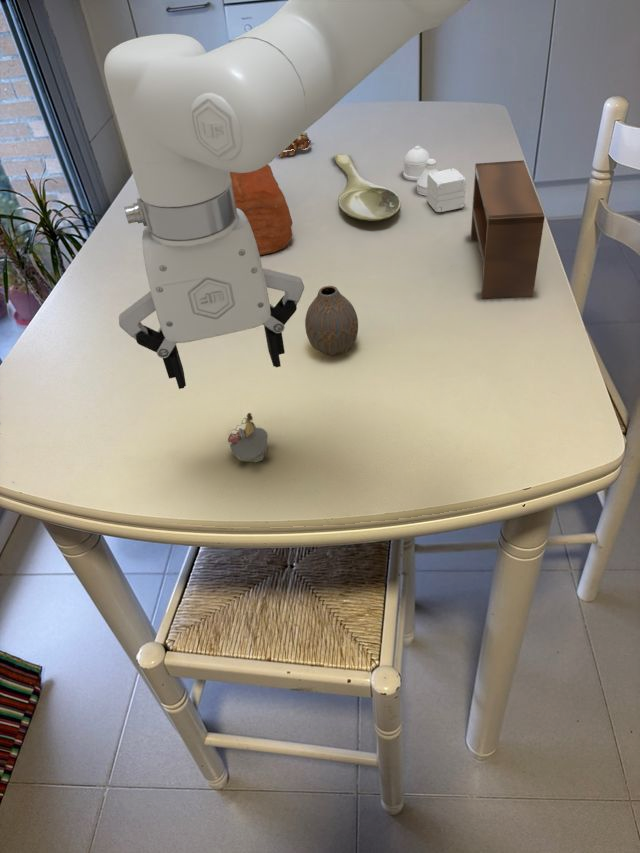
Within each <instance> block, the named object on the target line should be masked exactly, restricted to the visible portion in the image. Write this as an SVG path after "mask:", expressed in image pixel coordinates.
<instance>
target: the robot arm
mask: <svg viewBox="0 0 640 853" xmlns="http://www.w3.org/2000/svg"><path fill="white" fill-rule="evenodd" d="M470 1H471V0H287V1H286V2H285V3H284V4H283V5H282V7H280V9H278V11H277V12H275V14H273V15H272V16H271V17H270V18H269V19H267V21H264V22H263V23H261V24H259V25H257V26H255V27H253V28H251V29H249V30H247V31H246V32H245V33H243V34H241V35H239V36H237V37H236V38H234V39H232V40H230V41H228V43H225V44H224V45H222V46H220V47H217V48H214V49H212V50H210V51H206V49H205V48H204V46H203V45H202V44H201V43H200V41H198V40H197V39H195V38H194V37H193V36H190V35H185V34H181V33H159V34H151V35H144V36H140V37H136V38H131V39H129V40H126V41H124V42H121V43H119V44H118V45H116V46H114V47H113V48H112V49H111V50H109V52H108V53H107V54H106V57H105V60H104V62H103V63H104V64H103V72H104V77H105V78H104V79H105V82H106V86H107V89H108V92H109V96H110V100H111V103H112V106H113V110H114V113H115V117H116V120H117V124H118V127H119V130H120V133H121V134H120V135H121V137H122V140H123V145H124V147H125V151H126V155H127V158H128V161H129V166H130V169H131V172H132V176H133V180H134V183H135V186H136V188H137V193H138V195H139V198H136V202H134V203H132V205H127V206H124V207H123V208H124V213H125V218H126V220H127V223H128V224H134V223H135V224H136V223H137V224H142V225H143V227H144V229H143V231H142V237H141V239H142V240H141V243H142V255H143V261H144V267H145V272H146V277H147V282H148V286H149V289H150V291H148V293H146V294H145V295H143V296H142V297H140V298H139V299H138V300H137V301H135V302H134V303H133V304H131V305H130V306H128V307H127V308H126V309H125V310H124V311H122V312H121V313H120V314H119V315H118V325H119V327H120V328H121V329H122V330H123V331H124V332H125V333H127V334H128V335H129V336H130V337H131V338H132V339H134V340H135V341H136V343H137V344H138V345H140V346H141V347H143V348H146V349H148V350H150V351H152V352H154V353H155V354H157V357H158V358H161V359H162V361H163V363H164V367H165V371H166V373H167V376H168V379H174V378H175V380H176V384H177V387H178V390H181V389H185V387H186V386H187V383H186V378H185V371H184V367H183V363H182V360H181V357H180V353H179V350H178V347H177V344H185V343H192V342H196V341H201V340H205V339H211V338H214V337H219V336H224V335H228V334H229V335H230V334H234V333H238V332H243V331H246V330H247V331H248V330H251V329H254V328H258V327H260V326H263V327H264V333H265V334H264V335H265V339H266V344H267V350H268V353H269V358H270V360H271V364H272V366H273V367H275V368H280V367H281V359H280V355H283V354H285V353H286V352H285V344H284V339H283V332H284V330H285V328H286V327H285V326H286V324H287V322H288V321H289V320H290V319H291V318H292V316H293V315H294V314H295V313H296V312H297V308H298V307H297V306H298V304H299V302H300V300H301V298H302V295H303V292H304V290H305V284H304V283H303V279H302V278H301V277H300V276H296V275H293V274H287V273H284V272H281V271H277V270H272V269H267V268H264V267H263V264H262V260H261V255H259V251H258V248H257V244H256V241H255V238H254V235H253V232H252V229H251V226H250V224H249V222H248V219H247V217H246V216H245V214H244V213H243V212H242V211H241V210H240V209H238V208H236V203H235V198H234V193H233V187H232V182H231V177H230V172H234V173H248V172H252V171H256V170H258V169H260V168H262V167H264V166H266V165H267V164H268V165H269V164H270V163H271V162H272V161H274V160H275V159H276V158H277V157H278V156H279V155H280V153H282V152H283V151H284V150H285V149H286V148H287V147H288V146H289V145H291V144H292V143H293V142H294V140H296V139H297V138H298V137H299V136H300V135H301V134H302V133H305V132H306V131H307V130H308V129H309V128H311V127H312V126H313V125H314V124H315V123H316V122H318V121H319V120H320V119H321V118H323V117H324V116H325V115H326V114H327V113H328V112H329V111H330V110H331V109H332V108H334V107H335V105H337V104H338V103H339V102H340V101H341V100H342V99H344V97H345V96H347V95H348V94H349V93H350V92H351V91H353V89H354V88H357V86H358V85H359V84H360V83H361V82H363V81H364V80H365V79H366V78H367V77H368V76H370V74H372V73H373V72H374V71H375V70H376V69H378V67H380V66H381V65H382V64H384V62H386V61H387V60H389V58H390V57H391V56H393V55H394V54H395V53H396V52H397V51H399V50H400V49H401V48H402V47H404V46H405V45H406V44H407V43H408V42H409V41H411V40H412V39H413V38H415V37H416V36H417V35H419V34H421V33H423V32H425V31H428V30H431V29H435V28H438V27H439V26H440V25H442V24H444V23H445V22H447V21H448V19H449V18H451V17H452V16H453V15H455V14H456V13H457V12H459V11H460V10H461V9H462V8H463V7H464V6H466V5H467V4H468V3H469V2H470ZM268 288H269V289H273V290H277V291H280V292H284V295H283V296H282V297H281V298H280V299H279V301H278V302H277V303H276V304H275V305H273V304H271V303H270V297H269V292H268ZM154 312H155V313H156V317H157V320H158V323H159V326H160V327H159V328H158V330H155V329H153V328H151V327H150V326H147V325H144V324H142V321H143V320H145V319H146V318H148V317H149V316H150V315H152V314H153V313H154Z"/></svg>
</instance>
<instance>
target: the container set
mask: <svg viewBox="0 0 640 853" xmlns="http://www.w3.org/2000/svg"><path fill="white" fill-rule="evenodd" d="M403 168H404V170H403V171H402V172H403V174H402V175H403V178H404V179H406V180H407V181H408V180H409V181H416V192H417V193H418V194H419V195H421V196H426V200H427V203H428V204H429V206H430V207H431V208H432V209H433V210H434V211H435V212H436V213H443V212H448V211H452V210H457V209H462V208H463V207H464V206H465V203H466V186H467V184H466V183H467V181H466V177H465V176H464V175H463V174H462V173H461V172H459V170H458V169H457V168H448V169H443V170H438V168H437V160H436V159H435V158H431V156H430V154H429V152H428V150H426V149H425V148H423V147H421V145H414V147H413V148H411V149H410V150H409V151H407V152H406V154H405V157H404V160H403Z"/></svg>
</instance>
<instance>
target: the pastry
mask: <svg viewBox="0 0 640 853" xmlns="http://www.w3.org/2000/svg"><path fill="white" fill-rule="evenodd" d="M308 141H309V142H308ZM310 143H311V144H310ZM310 146H311V147H312V146H313V144H312V140H311V139H310V138H309V135H308V133H307V132H306V131H305V132H303V133H302V134H301V135H300V136H299V137H298V138H297V139H296V140H294V142H293V143H292V144H291V145H289V146H288V147H287V148H286V149H285V150H291V149H294V150H295V151H294V150H292V151H287V152H282V153H280V154H279V155H280V156H279V157H280V158H282V159H283V158H285V157H286V156H294V155H295V153H296V150H298V149H301V150H302V149H305V148H308V147H309V148H311V147H310ZM309 148H308V149H309ZM308 149H306V150H303V151H308Z"/></svg>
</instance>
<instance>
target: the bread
mask: <svg viewBox="0 0 640 853" xmlns="http://www.w3.org/2000/svg"><path fill="white" fill-rule="evenodd" d="M230 177H231V182H232V187H233V193H234V198H235V203H236V208H238V209H240V210H241V211H242V212H243V213H244V214H245V216H246V217H247V219H248V222H249V224H250V226H251V229H252V232H253V235H254V238H255V241H256V244H257V248H258V251H259V255H260V256H262V255H268V254H272V253H276V252H278V251H280V250H282V249H285V248H287V246H288V244H289V242H290V241H291V238H292V236H293V230H292V226H293V220H292V216H291V211H290V208H289V205H288V203H287V201H286V197H285V194H284V193H283V191H282V189H281V188H280V186H279V183H278V182H277V180H276V177H275V176H274V173H273V170H272V167H271V165H269V164H267V165H266V166H264V167H262V168H260V169H258V170H256V171H252V172H248V173H234V172H230Z"/></svg>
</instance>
